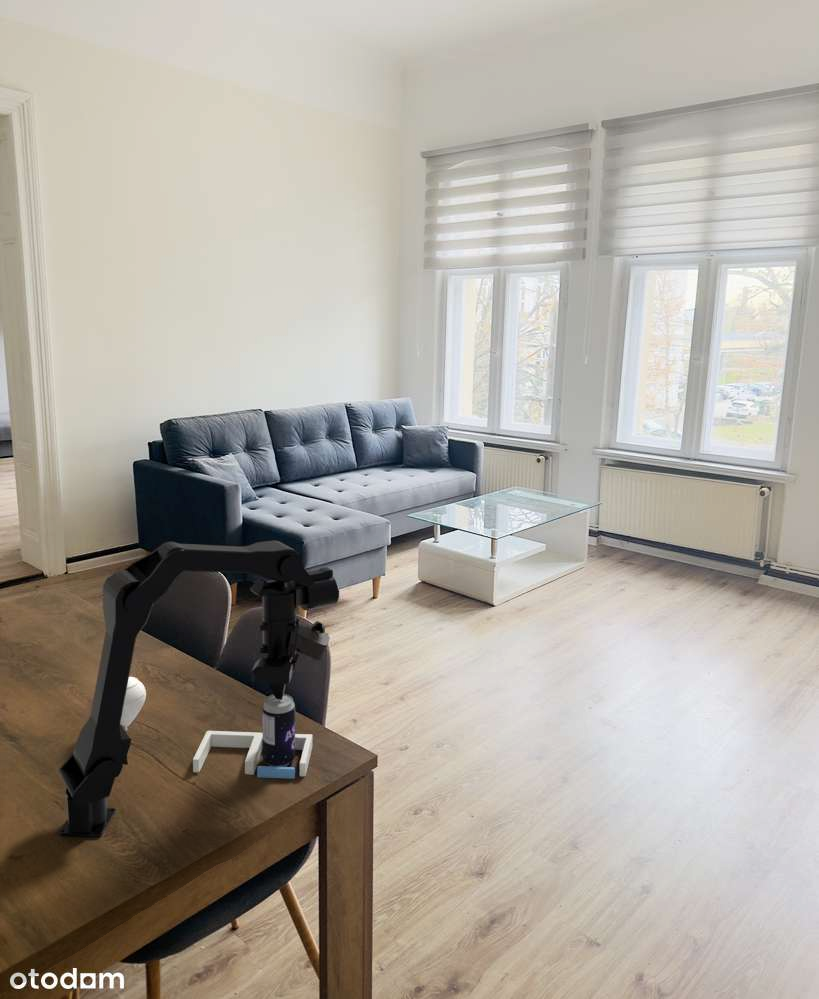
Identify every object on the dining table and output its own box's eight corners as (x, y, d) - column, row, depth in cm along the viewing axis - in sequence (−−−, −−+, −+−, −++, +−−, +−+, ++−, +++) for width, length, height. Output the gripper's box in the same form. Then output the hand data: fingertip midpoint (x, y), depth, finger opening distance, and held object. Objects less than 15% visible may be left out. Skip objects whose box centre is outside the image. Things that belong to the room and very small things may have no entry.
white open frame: (304, 779, 137) (304, 766, 136) (192, 774, 137) (191, 761, 136) (312, 746, 147) (312, 734, 147) (207, 742, 147) (207, 730, 147)
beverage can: (288, 772, 139) (288, 709, 136) (258, 767, 140) (257, 705, 137) (299, 755, 144) (299, 694, 142) (269, 750, 145) (269, 690, 143)
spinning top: (102, 743, 146) (99, 683, 143) (106, 722, 153) (103, 665, 150) (146, 738, 148) (144, 679, 145) (148, 718, 155) (146, 661, 152)
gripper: (320, 638, 127) (318, 726, 130) (332, 597, 145) (330, 676, 148) (250, 635, 127) (251, 724, 130) (271, 595, 145) (271, 674, 148)
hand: (279, 698), depth 139 cm, fingers closed
